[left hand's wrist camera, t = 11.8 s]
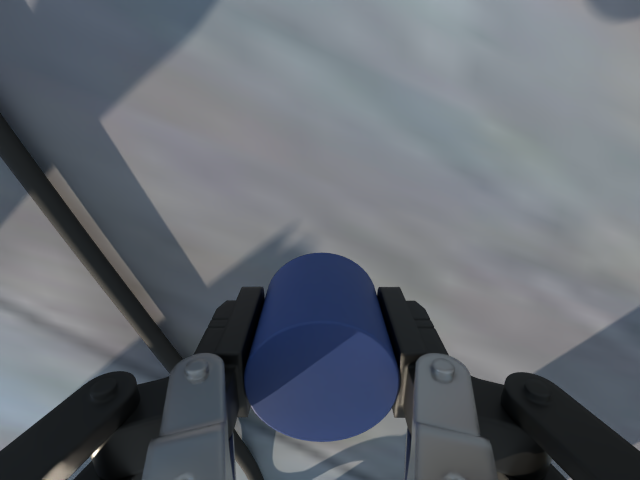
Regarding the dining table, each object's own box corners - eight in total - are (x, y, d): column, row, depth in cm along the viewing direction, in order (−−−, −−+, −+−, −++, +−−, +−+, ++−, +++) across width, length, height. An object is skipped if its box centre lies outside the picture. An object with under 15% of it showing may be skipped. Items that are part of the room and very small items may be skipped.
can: (262, 340, 13) (238, 435, 10) (271, 244, 12) (248, 311, 8) (364, 352, 14) (382, 449, 10) (386, 259, 12) (417, 332, 8)
